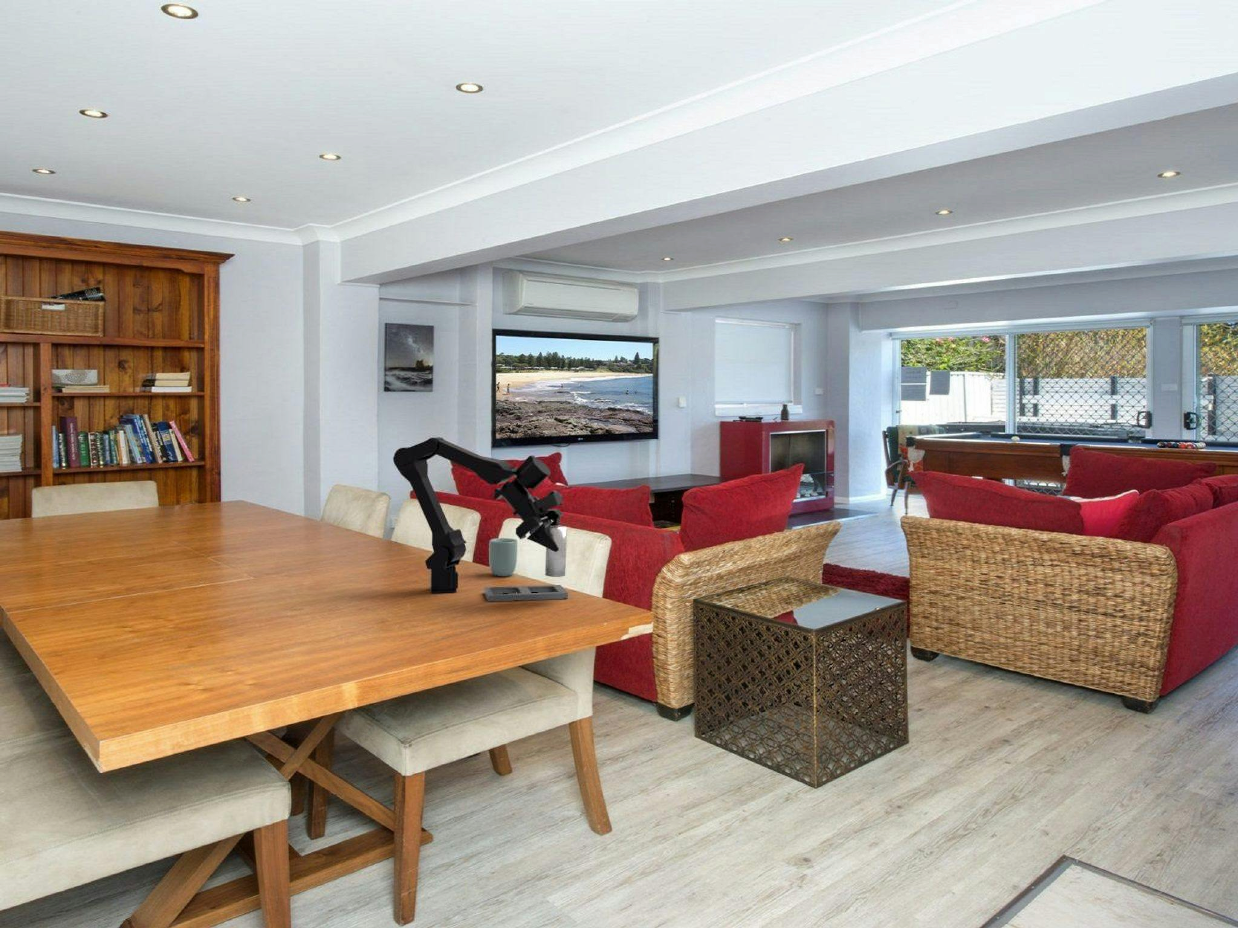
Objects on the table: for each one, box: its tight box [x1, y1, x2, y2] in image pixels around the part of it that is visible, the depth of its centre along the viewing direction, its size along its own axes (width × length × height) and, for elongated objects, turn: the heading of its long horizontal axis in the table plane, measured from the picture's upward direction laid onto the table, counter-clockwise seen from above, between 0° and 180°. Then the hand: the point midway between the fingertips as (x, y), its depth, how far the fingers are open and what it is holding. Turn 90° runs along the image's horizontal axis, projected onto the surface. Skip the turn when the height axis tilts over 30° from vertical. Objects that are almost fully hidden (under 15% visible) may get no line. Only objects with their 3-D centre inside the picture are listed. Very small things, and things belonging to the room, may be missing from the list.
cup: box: [488, 537, 518, 577], centre depth 254 cm, size 8×8×10 cm
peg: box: [544, 525, 568, 578], centre depth 222 cm, size 5×5×12 cm
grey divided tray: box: [483, 584, 569, 603], centre depth 228 cm, size 20×10×2 cm, turn 105°
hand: (561, 549), depth 222 cm, fingers closed on peg, 5 cm apart
